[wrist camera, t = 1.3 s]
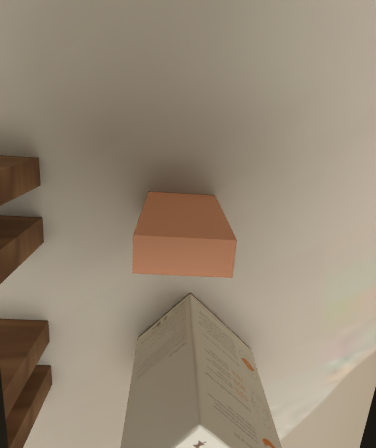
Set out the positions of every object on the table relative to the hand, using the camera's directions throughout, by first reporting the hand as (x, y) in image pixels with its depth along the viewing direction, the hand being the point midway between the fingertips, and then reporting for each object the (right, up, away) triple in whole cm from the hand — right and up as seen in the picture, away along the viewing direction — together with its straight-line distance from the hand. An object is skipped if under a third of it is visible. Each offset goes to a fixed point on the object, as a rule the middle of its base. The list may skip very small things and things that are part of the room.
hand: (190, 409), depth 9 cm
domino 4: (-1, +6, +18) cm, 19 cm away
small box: (+1, -6, +22) cm, 23 cm away
